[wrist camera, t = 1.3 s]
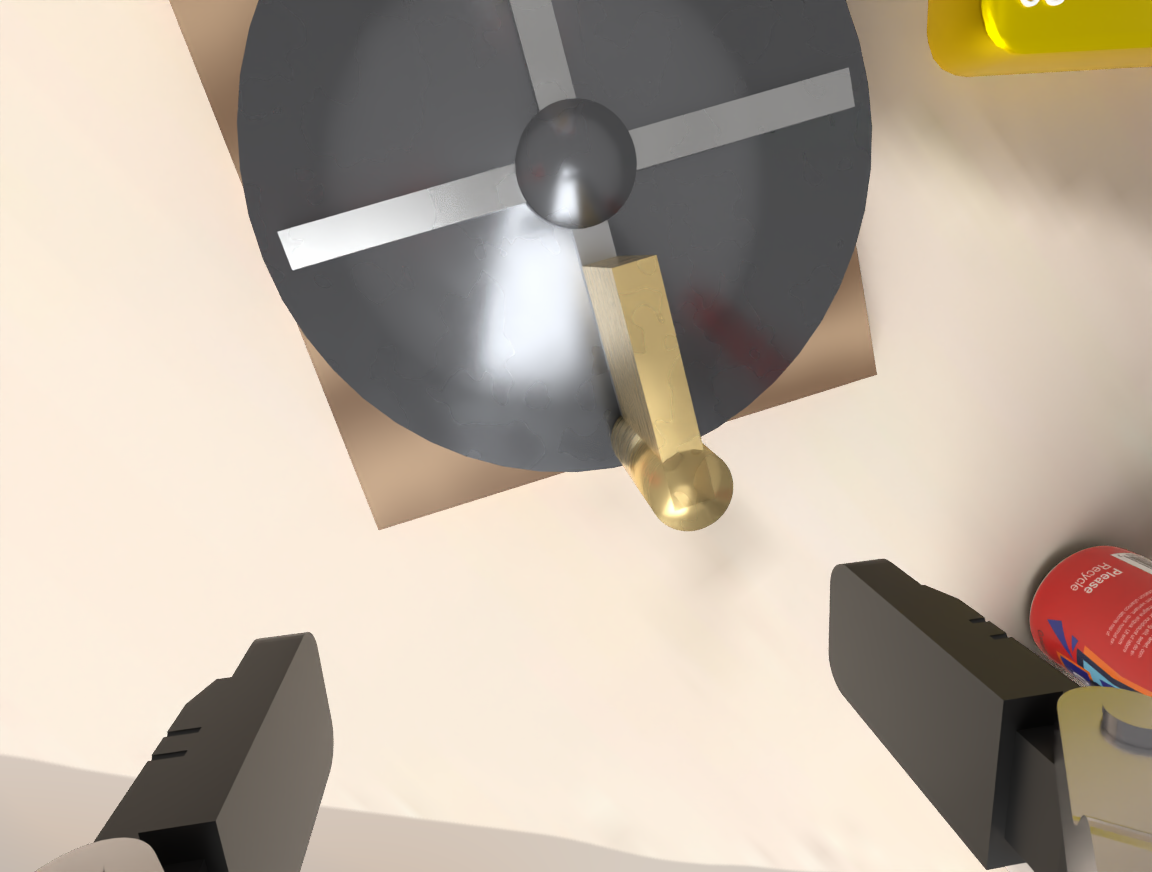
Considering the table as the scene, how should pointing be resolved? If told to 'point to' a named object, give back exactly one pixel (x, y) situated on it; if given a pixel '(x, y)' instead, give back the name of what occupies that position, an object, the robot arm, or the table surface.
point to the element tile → (1038, 35)
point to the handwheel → (559, 215)
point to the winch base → (406, 460)
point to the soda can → (1098, 618)
